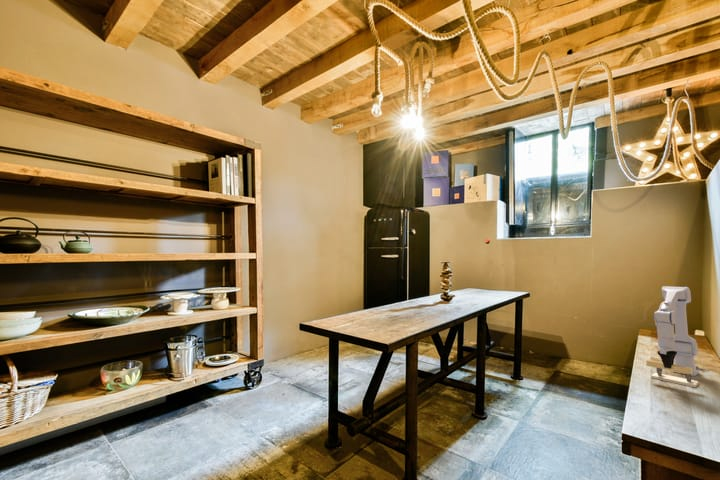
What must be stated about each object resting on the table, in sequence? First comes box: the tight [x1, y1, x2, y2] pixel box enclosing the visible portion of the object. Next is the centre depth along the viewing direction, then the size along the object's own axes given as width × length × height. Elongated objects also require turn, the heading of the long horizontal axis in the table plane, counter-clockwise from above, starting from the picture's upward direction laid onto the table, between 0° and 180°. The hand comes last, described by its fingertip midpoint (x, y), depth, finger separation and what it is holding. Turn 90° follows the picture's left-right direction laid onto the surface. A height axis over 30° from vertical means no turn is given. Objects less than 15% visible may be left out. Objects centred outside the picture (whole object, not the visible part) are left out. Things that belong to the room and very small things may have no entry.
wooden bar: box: [645, 359, 693, 374], centre depth 146 cm, size 2×15×2 cm, turn 35°
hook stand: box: [650, 367, 699, 388], centre depth 151 cm, size 7×15×5 cm, turn 35°
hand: (668, 367), depth 146 cm, fingers closed on wooden bar, 2 cm apart
